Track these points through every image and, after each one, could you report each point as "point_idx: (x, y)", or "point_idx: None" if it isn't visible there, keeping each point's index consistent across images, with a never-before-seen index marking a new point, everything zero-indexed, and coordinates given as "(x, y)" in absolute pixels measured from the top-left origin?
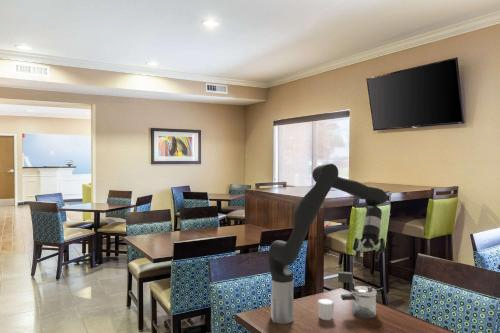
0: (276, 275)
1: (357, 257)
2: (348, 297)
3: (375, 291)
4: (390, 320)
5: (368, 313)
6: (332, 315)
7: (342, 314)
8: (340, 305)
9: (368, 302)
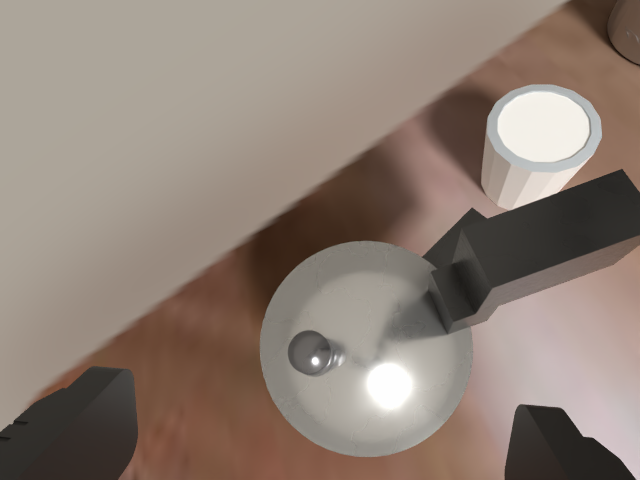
0: None
1: (535, 413)
2: (443, 239)
3: (272, 370)
4: (223, 358)
5: None
6: (483, 178)
7: None
8: (558, 392)
9: None
